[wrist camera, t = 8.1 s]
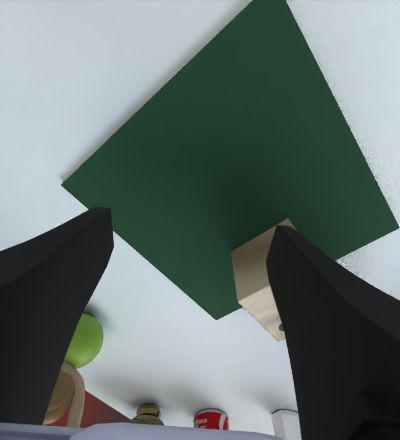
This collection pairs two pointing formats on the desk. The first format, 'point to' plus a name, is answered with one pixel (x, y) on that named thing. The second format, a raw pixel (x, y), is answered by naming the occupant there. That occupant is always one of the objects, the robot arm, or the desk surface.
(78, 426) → the snail figurine
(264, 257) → the die
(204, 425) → the soda can
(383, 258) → the desk surface
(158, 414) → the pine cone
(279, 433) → the eye dropper bottle
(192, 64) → the dice mat
